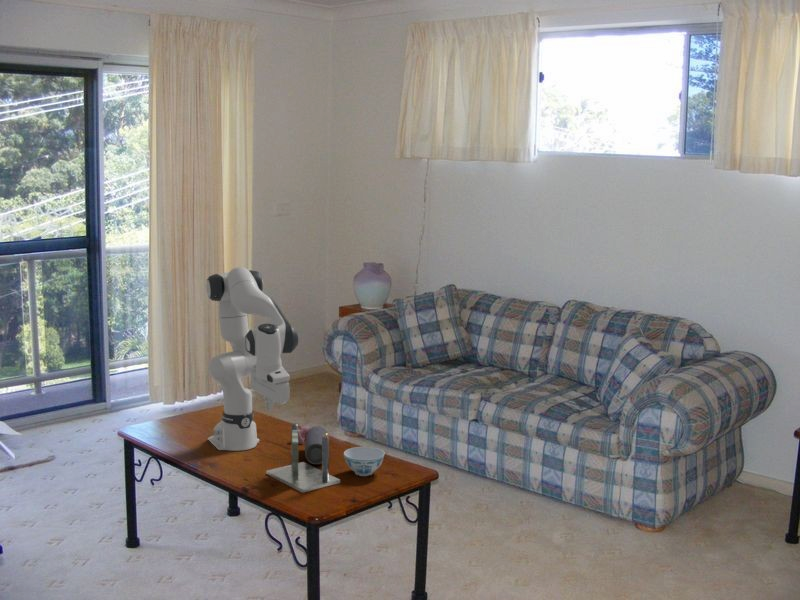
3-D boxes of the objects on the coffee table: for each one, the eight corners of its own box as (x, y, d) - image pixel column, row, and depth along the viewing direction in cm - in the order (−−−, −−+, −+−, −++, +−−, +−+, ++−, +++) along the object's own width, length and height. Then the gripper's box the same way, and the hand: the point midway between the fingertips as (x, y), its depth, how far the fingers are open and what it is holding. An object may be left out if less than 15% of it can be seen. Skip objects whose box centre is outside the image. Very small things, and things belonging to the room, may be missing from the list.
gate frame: (266, 473, 318) (266, 424, 315) (303, 464, 328) (303, 416, 326) (302, 492, 300) (302, 440, 297) (340, 482, 310) (340, 432, 307)
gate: (292, 465, 321) (292, 430, 319) (297, 465, 322) (297, 430, 320) (292, 480, 306) (292, 443, 304) (298, 480, 306) (298, 443, 304)
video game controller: (312, 441, 362) (307, 425, 363) (319, 438, 359) (314, 422, 360) (295, 447, 355) (290, 430, 356) (302, 444, 352) (297, 427, 353)
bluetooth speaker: (305, 448, 348) (305, 424, 346) (329, 448, 349) (329, 424, 347) (303, 467, 325) (303, 442, 324) (328, 467, 326) (328, 441, 325)
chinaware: (337, 477, 316) (337, 456, 315) (353, 464, 330) (353, 444, 329) (375, 482, 311) (375, 461, 310) (390, 469, 325) (390, 449, 324)
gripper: (245, 364, 305) (246, 401, 309) (276, 380, 290) (277, 419, 294) (261, 361, 309) (261, 397, 313) (292, 377, 294) (293, 415, 297)
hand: (269, 408), depth 303 cm, fingers closed
